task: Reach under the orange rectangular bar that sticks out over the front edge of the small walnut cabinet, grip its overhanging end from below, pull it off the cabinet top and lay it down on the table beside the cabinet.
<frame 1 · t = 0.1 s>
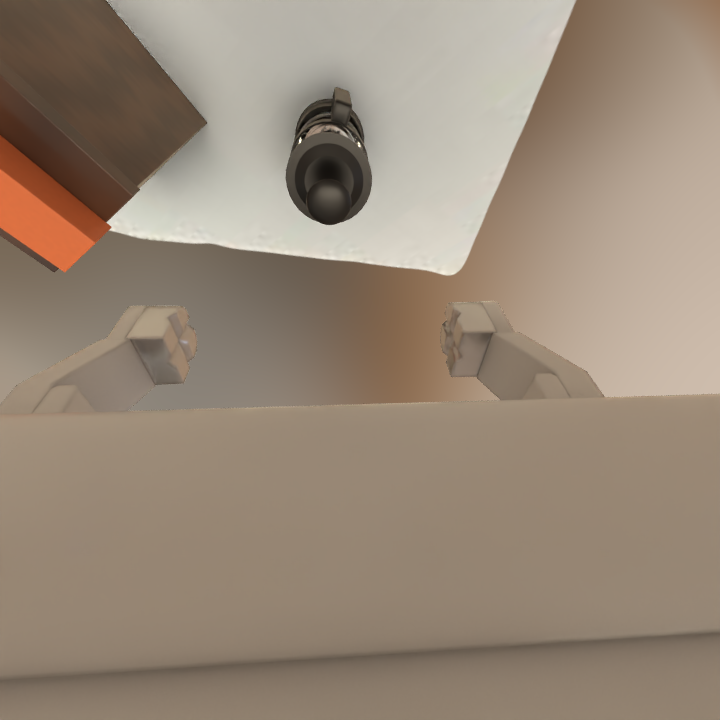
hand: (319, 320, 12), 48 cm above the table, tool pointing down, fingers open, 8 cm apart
french press: (330, 135, 50), on the table
cabinet: (130, 97, 46), on the table
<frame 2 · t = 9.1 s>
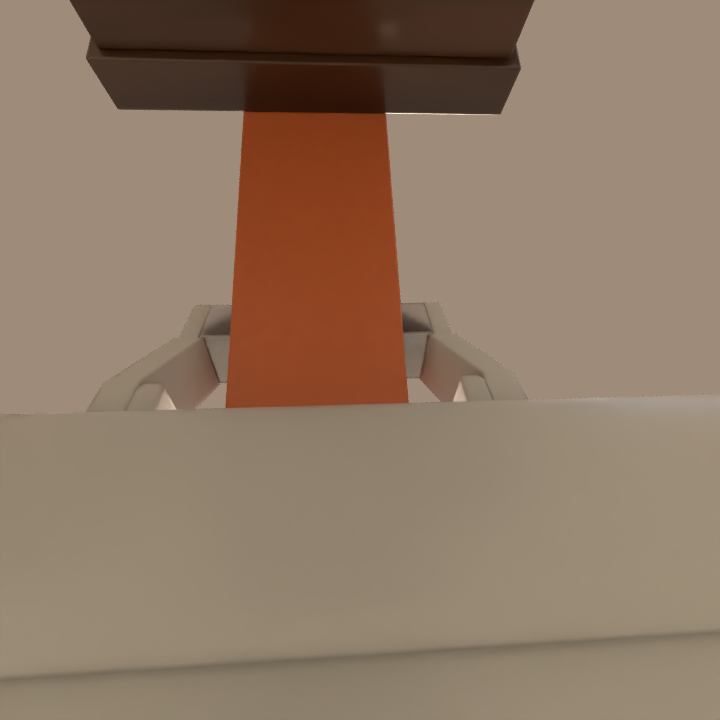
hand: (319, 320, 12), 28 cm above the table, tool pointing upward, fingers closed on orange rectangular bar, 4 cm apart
orange rectangular bar: (314, 45, 12), point 26 cm above the table, touching gripper
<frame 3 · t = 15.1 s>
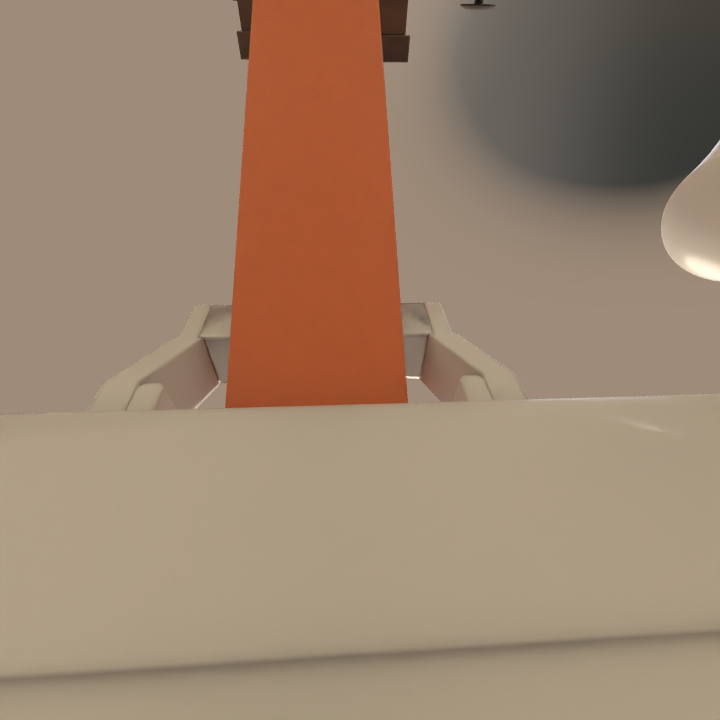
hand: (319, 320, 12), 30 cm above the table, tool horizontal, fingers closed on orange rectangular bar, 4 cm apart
orange rectangular bar: (316, 44, 12), point 24 cm above the table, tilted 30°, touching gripper
when the fingers open (12 cm above the table, at t = 20.1 s): orange rectangular bar drops 6 cm, on the table.
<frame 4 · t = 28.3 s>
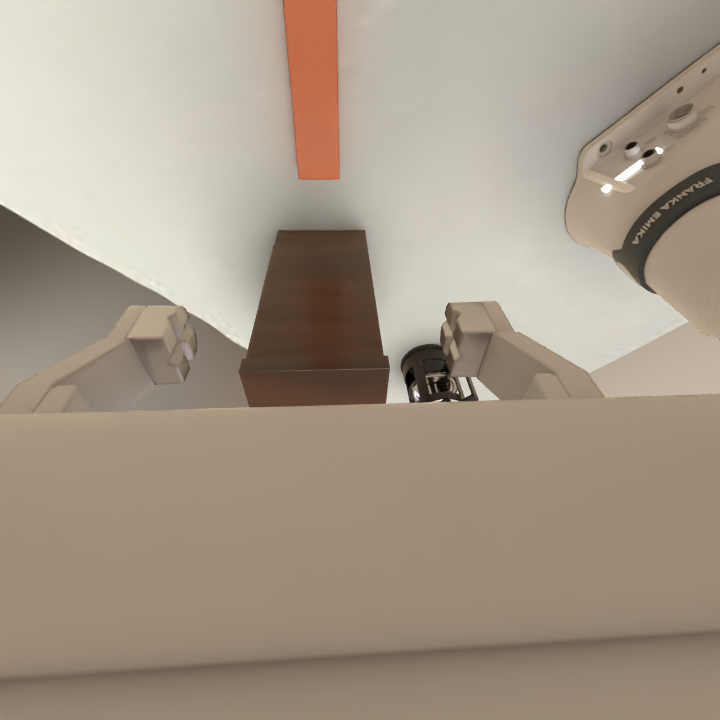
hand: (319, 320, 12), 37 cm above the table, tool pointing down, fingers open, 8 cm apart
french press: (428, 361, 66), on the table
cabinet: (324, 278, 53), on the table
orange rectangular bar: (312, 26, 34), on the table
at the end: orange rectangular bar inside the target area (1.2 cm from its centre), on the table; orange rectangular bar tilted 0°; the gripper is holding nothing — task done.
